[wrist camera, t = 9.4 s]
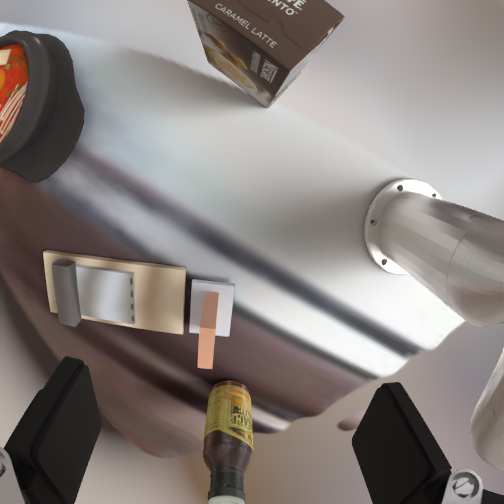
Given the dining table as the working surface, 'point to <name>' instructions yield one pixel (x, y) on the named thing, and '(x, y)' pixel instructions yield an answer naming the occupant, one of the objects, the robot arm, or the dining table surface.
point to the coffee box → (263, 40)
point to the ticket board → (115, 291)
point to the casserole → (37, 104)
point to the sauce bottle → (228, 441)
